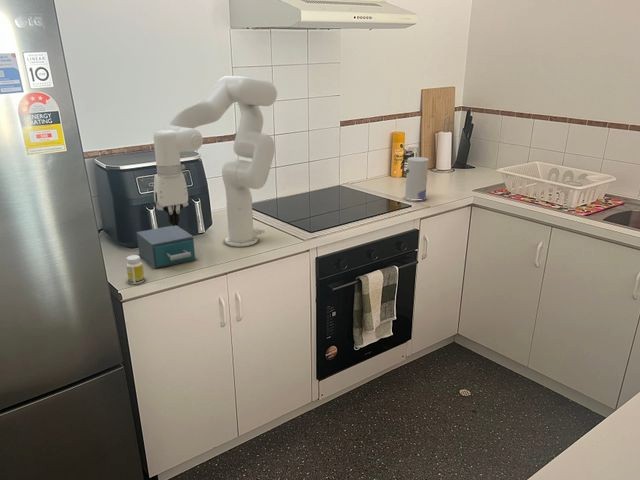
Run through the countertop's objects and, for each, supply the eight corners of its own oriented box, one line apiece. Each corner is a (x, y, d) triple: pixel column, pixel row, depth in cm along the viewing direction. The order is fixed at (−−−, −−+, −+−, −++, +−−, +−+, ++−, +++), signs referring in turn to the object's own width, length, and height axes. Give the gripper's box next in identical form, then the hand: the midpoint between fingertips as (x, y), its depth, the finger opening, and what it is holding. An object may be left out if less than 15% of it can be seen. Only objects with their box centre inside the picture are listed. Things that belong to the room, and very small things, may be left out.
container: (404, 196, 277) (407, 156, 270) (424, 197, 276) (428, 156, 268) (404, 201, 268) (407, 160, 260) (425, 202, 267) (429, 161, 259)
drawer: (201, 263, 190) (199, 244, 188) (163, 271, 183) (160, 252, 180) (178, 246, 205) (177, 229, 203) (143, 254, 198) (140, 236, 195)
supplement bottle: (145, 278, 180) (142, 254, 177) (142, 284, 176) (138, 259, 173) (131, 278, 180) (127, 254, 177) (127, 284, 176) (123, 260, 173)
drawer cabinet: (195, 259, 196) (193, 236, 192) (154, 268, 188) (151, 244, 185) (178, 247, 208) (176, 224, 204) (139, 255, 200) (136, 232, 196)
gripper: (186, 165, 183) (190, 218, 190) (142, 170, 175) (148, 225, 182) (195, 169, 177) (199, 224, 185) (150, 174, 169) (156, 231, 177)
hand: (174, 224), depth 183 cm, fingers closed
